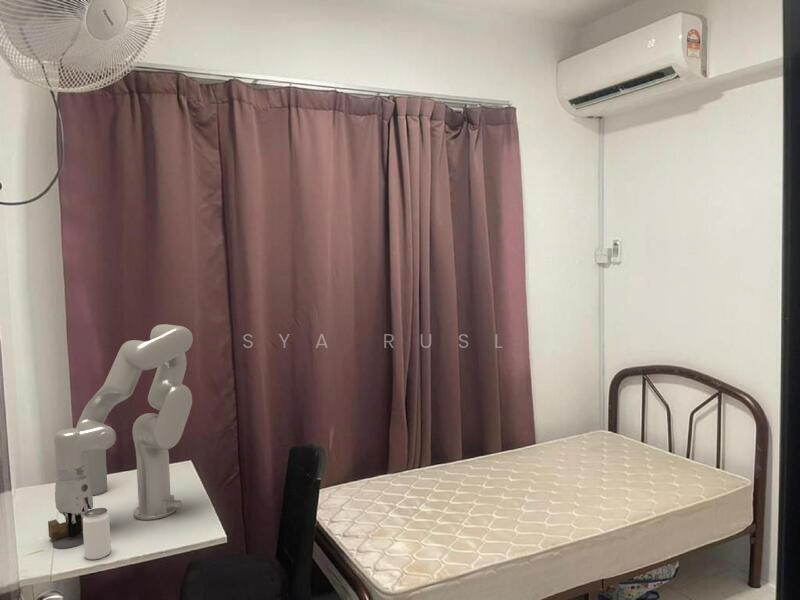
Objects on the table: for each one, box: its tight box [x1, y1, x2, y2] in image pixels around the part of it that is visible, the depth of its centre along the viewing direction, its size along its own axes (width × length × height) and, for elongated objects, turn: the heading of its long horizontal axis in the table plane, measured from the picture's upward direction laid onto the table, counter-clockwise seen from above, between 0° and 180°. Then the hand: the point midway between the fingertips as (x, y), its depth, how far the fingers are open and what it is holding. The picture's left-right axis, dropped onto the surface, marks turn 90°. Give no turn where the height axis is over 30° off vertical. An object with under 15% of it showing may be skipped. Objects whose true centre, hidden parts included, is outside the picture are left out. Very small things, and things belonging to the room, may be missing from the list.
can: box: [82, 507, 112, 561], centre depth 165 cm, size 6×6×12 cm
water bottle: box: [85, 449, 108, 496], centre depth 210 cm, size 9×8×25 cm
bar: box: [47, 519, 83, 541], centre depth 177 cm, size 4×11×4 cm, turn 133°
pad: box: [52, 532, 84, 550], centre depth 174 cm, size 9×9×1 cm
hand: (75, 534), depth 175 cm, fingers closed
